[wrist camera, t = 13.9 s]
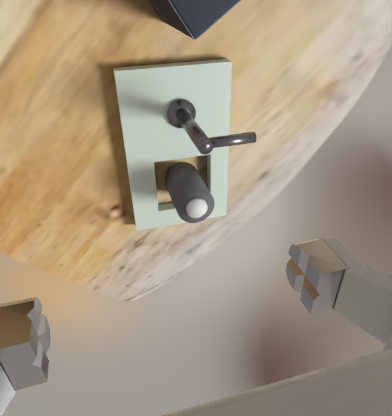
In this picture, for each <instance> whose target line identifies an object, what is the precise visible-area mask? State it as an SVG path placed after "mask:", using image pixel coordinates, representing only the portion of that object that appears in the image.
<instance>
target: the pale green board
mask: <svg viewBox="0 0 392 416" xmlns="http://www.w3.org/2000/svg"><path fill="white" fill-rule="evenodd" d="M113 72H114V79H115V86H116V93H117V100H118V107H119V114H120V121H121V128H122V135H123V142H124V149H125V157H126V164H127V171H128V178H129V185H130V192H131V199H132V206H133V213H134V220H135V226H136V230H137V231H140V230H145V229H151V228H156V227H162V226H167V225H173V224H179V223H184V222H186V221H184V220H182V219H181V218H180V217H179V215H178V213H177V211H176V208H175V206H174V203H173V202H172V203H166V204H160V205H158V200H157V189H156V179H155V168H154V162H159V161H167V160H174V159H181V158H188V157H195V156H203V155H204V154H201V153H200V152H199V150H198V149H197V147H196V146H195V145H194V143H193V142H192V140H191V139H190V137H189V136H188V134H187V133H186V131H185V130H184V128H176V127H174V126H172V125H171V124H170V122H169V121H168V118H167V110H168V107H169V105H170V104H171V103H172V102H173V101H175V100H178V99H186V100H188V101H190V102H191V103H192V104H193V106H194V107H195V110H196V116H195V119H194V120H195V121H196V123H197V124H198V125H199V127H200V128H201V129H202V130H203V132H204V133H205V134H206V135H207V137H208V138H210V137H217V136H225V135H229V127H230V100H231V72H232V61H230V60H228V59H218V60H205V61H193V62H180V63H168V64H155V65H143V66H130V67H118V68H113ZM206 155H207V188H208V190H209V191H210V193H211V195H212V196H213V198H214V202H215V205H214V209H213V211H212V213H211V214H210V215H209V216H208V217H207V218H212V217H218V216H223V215H226V210H227V182H228V155H229V146H225V147H218V148H213V150H212V151H211V152H210V153H209V154H206ZM207 218H206V219H207Z"/></svg>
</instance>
